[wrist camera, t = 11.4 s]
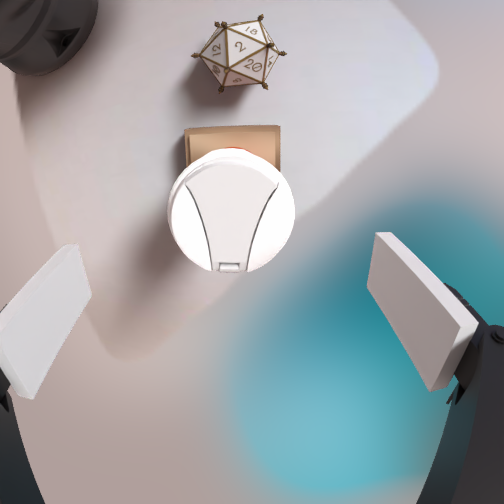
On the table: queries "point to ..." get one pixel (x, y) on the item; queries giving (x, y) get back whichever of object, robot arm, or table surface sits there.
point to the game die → (240, 54)
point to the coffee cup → (230, 211)
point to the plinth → (234, 141)
